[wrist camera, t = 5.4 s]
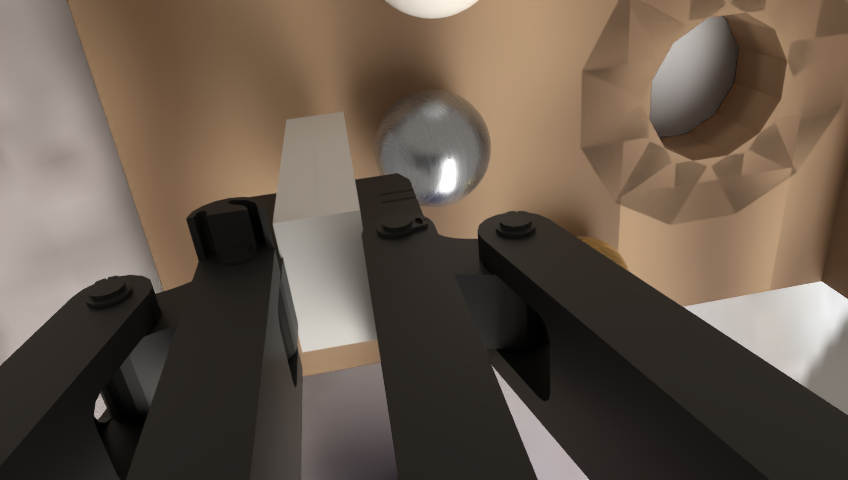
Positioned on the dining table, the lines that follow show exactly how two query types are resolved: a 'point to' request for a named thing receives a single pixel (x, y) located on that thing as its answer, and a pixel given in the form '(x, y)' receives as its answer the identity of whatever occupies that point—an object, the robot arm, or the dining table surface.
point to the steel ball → (434, 145)
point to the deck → (500, 124)
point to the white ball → (431, 7)
